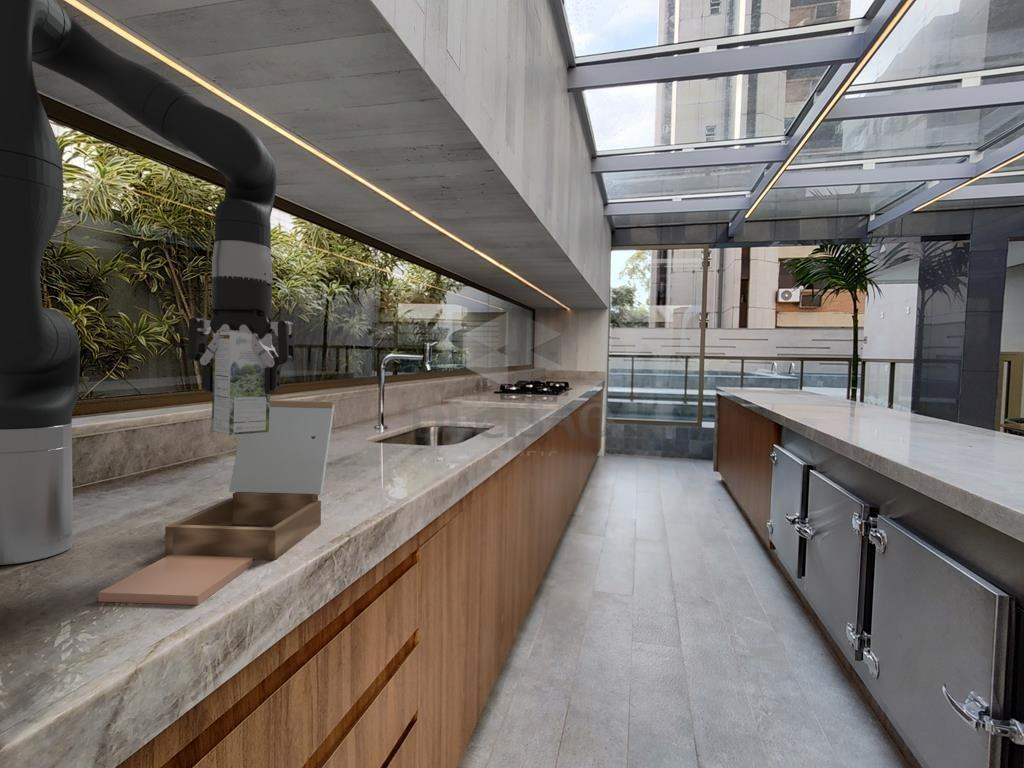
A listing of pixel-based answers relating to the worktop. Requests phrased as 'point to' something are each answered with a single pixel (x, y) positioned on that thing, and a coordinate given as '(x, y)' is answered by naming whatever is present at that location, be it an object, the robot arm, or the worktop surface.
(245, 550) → the wooden box
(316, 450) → the lid
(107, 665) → the worktop surface
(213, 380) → the syrup box
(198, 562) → the tile
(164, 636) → the worktop surface
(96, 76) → the robot arm
